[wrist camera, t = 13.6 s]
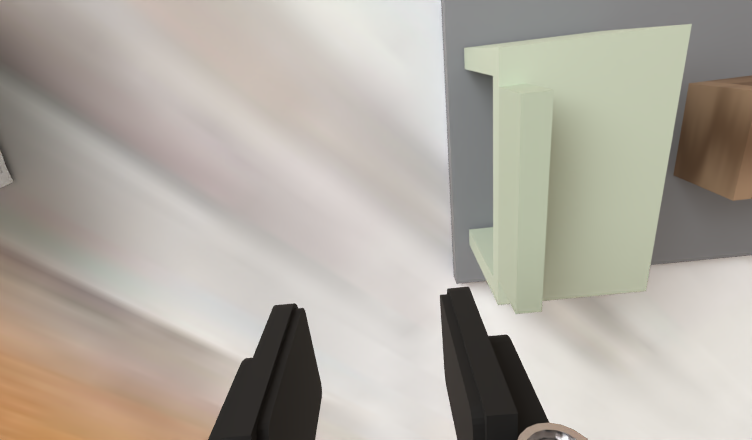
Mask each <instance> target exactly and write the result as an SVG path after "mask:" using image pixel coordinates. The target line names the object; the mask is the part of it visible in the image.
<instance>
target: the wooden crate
mask: <svg viewBox="0 0 752 440" xmlns="http://www.w3.org/2000/svg"><path fill="white" fill-rule="evenodd" d="M674 176H676V177H679V178H681V179H683V180H686V181H688V182H690V183H693V184H695V185H697V186H700V187H702V188H704V189H707V190H709V191H711V192H714V193H716V194H718V195H721V196H723V197H725V198H728V199H730V200H732V201H735V200H744V199H752V75H751V76H743V77H735V78H727V79H719V80H711V81H703V82H695V83H689V86H688V92H687V98H686V104H685V110H684V116H683V121H682V127H681V133H680V139H679V145H678V151H677V157H676V163H675V169H674Z"/></svg>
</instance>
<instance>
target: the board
mask: <svg viewBox="0 0 752 440" xmlns="http://www.w3.org/2000/svg"><path fill="white" fill-rule="evenodd" d="M441 6H442V28H443V50H444V72H445V94H446V116H447V138H448V160H449V181H450V203H451V225H452V247H453V269H454V278H455V281H456V284H459V283H469V282H479V281H486V278H485V276H484V274H483V272H482V270H481V268H480V266H479V264H478V262H477V259H476V257H475V255H474V253H473V251H472V249H471V247H470V245H469V230H470V229H479V228H489V227H493V76H492V75H487V74H483V73H479V72H475V71H470V70H466V69H465V63H464V48H467V47H475V46H483V45H491V44H499V43H508V42H516V41H524V40H532V39H540V38H548V37H556V36H564V35H572V34H580V33H589V32H597V31H607V30H620V29H633V28H646V27H659V26H672V25H685V24H692V26H691V32H690V38H689V44H688V50H687V55H686V61H685V67H684V73H683V79H682V84H681V90H680V96H679V102H678V108H677V114H676V119H675V125H674V131H673V137H672V143H671V148H670V154H669V160H668V166H667V172H666V178H665V183H664V189H663V195H662V201H661V207H660V212H659V218H658V224H657V230H656V236H655V241H654V247H653V253H652V259H651V265H654V264H665V263H675V262H685V261H696V260H706V259H716V258H726V257H737V256H747V255H752V199H744V200H735V201H732V200H730V199H728V198H725V197H723V196H721V195H718V194H716V193H714V192H711V191H709V190H707V189H704V188H702V187H700V186H697V185H695V184H693V183H690V182H688V181H686V180H683V179H681V178H679V177H676V176H674V169H675V163H676V157H677V151H678V145H679V139H680V133H681V127H682V121H683V116H684V110H685V104H686V98H687V92H688V86H689V83H695V82H703V81H711V80H719V79H727V78H735V77H743V76H751V75H752V0H441Z"/></svg>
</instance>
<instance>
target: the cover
mask: <svg viewBox="0 0 752 440" xmlns="http://www.w3.org/2000/svg"><path fill="white" fill-rule="evenodd" d="M691 26H692V24H685V25H672V26H659V27H646V28H633V29H620V30H607V31H597V32H589V33H580V34H572V35H564V36H556V37H548V38H540V39H532V40H524V41H516V42H508V43H499V44H491V45H483V46H475V47H467V48H464V63H465V69H466V70H470V71H475V72H479V73H483V74H487V75H492V76H493V227H489V228H479V229H470V230H469V245H470V247H471V249H472V251H473V253H474V255H475V257H476V259H477V262H478V264H479V266H480V268H481V270H482V272H483V274H484V276H485V278H486V281H487V283H488V285H489V287H490V289H491V291H492V293H493V295H494V297H495V300H496V302H497V304H498V305H504V304H511V306H512V308H513V310H514V311H515V313H516V314H522V313H532V312H542V301H546V300H557V299H568V298H578V297H589V296H600V295H610V294H621V293H631V292H642V291H646V288H647V282H648V276H649V271H650V265H651V259H652V253H653V247H654V241H655V236H656V230H657V224H658V218H659V212H660V207H661V201H662V195H663V189H664V183H665V178H666V172H667V166H668V160H669V154H670V148H671V143H672V137H673V131H674V125H675V119H676V114H677V108H678V102H679V96H680V90H681V84H682V79H683V73H684V67H685V61H686V55H687V50H688V44H689V38H690V32H691Z"/></svg>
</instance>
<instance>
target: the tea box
mask: <svg viewBox="0 0 752 440" xmlns="http://www.w3.org/2000/svg"><path fill="white" fill-rule="evenodd" d="M12 182H13V179H12V177H11V175H10V173H9V171H8V170H7V168H6V165H5V162H4V159H3V156H2V154H1V151H0V188H1V187H4V186H6V185H8V184H10V183H12Z"/></svg>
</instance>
